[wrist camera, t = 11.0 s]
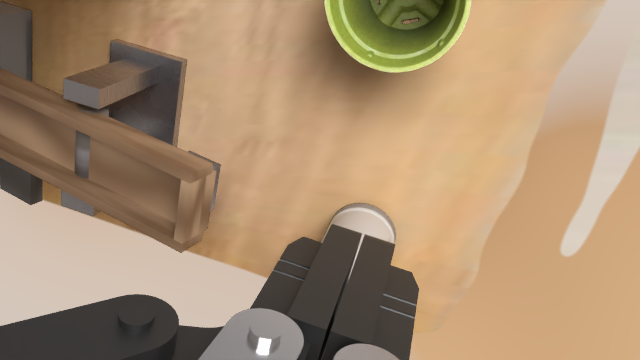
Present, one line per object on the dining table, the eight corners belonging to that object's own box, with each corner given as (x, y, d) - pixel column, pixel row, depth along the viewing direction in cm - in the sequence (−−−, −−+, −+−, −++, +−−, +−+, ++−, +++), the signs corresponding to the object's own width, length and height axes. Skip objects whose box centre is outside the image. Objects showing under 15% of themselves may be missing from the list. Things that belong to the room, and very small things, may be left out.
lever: (14, 58, 50) (-41, 65, 45) (233, 154, 42) (191, 173, 38) (16, 170, 54) (-34, 186, 50) (213, 274, 47) (174, 304, 43)
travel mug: (317, 241, 54) (243, 388, 36) (350, 189, 51) (287, 322, 33) (372, 274, 54) (325, 438, 36) (408, 225, 51) (377, 377, 33)
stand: (117, 39, 51) (40, 59, 41) (187, 59, 50) (124, 85, 41) (109, 164, 56) (40, 207, 47) (172, 185, 55) (113, 232, 46)
